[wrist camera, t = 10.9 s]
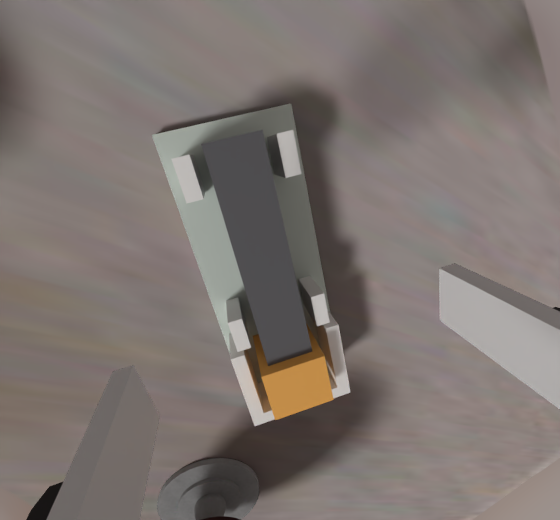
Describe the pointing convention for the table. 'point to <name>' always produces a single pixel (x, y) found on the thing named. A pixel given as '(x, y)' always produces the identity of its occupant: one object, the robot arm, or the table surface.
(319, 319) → the board
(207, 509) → the mate gourd
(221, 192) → the bar
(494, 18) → the table surface
